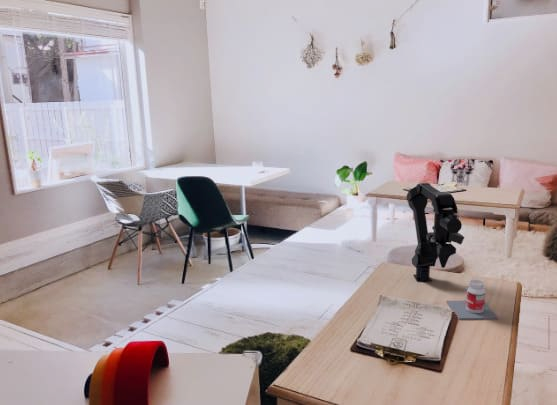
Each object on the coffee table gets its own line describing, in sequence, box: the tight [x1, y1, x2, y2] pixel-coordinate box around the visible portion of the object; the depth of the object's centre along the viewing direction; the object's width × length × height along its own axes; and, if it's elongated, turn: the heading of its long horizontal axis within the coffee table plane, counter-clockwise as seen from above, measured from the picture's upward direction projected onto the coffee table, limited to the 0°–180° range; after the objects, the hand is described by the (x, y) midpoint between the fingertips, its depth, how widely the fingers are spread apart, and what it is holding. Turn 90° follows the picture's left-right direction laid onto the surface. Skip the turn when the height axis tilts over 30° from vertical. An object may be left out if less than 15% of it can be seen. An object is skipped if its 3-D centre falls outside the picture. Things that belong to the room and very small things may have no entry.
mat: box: [446, 299, 499, 321], centre depth 177 cm, size 14×14×1 cm
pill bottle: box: [465, 279, 486, 313], centre depth 174 cm, size 6×6×11 cm
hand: (439, 263), depth 188 cm, fingers open, 9 cm apart
